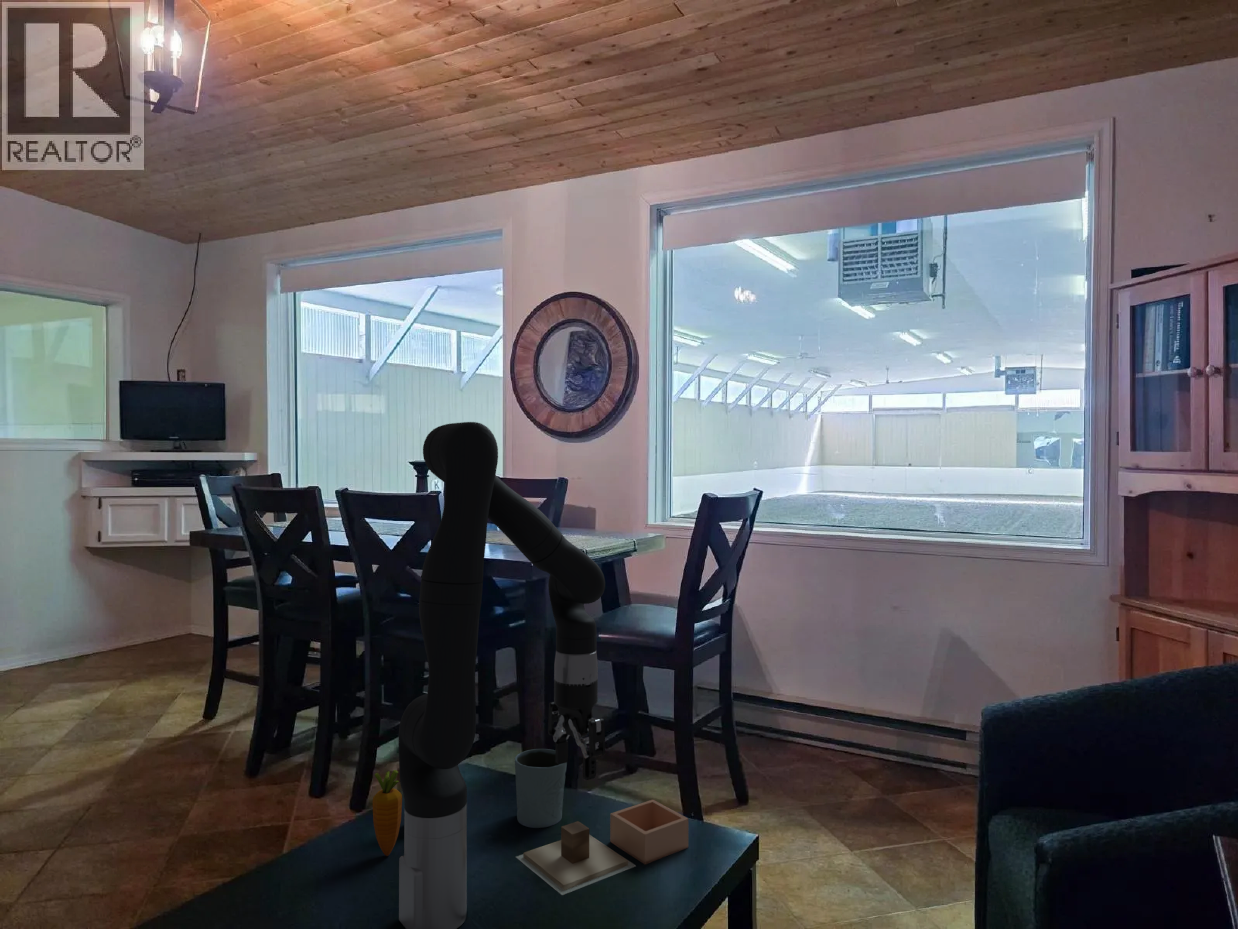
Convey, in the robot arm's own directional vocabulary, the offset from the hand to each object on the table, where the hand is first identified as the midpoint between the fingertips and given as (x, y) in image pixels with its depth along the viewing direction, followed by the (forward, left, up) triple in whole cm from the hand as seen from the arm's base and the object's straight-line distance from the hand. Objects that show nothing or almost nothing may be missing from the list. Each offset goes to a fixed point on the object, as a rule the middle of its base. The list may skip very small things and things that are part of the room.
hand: (575, 770), depth 132 cm
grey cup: (+4, +18, -16) cm, 25 cm away
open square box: (+14, -3, -16) cm, 22 cm away
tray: (0, 0, -16) cm, 16 cm away
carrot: (-25, +22, -16) cm, 37 cm away
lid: (0, 0, -16) cm, 16 cm away
